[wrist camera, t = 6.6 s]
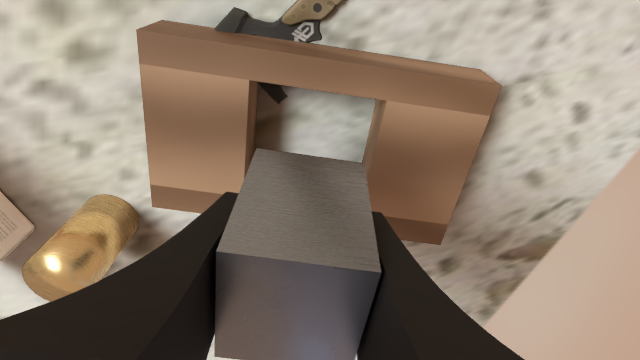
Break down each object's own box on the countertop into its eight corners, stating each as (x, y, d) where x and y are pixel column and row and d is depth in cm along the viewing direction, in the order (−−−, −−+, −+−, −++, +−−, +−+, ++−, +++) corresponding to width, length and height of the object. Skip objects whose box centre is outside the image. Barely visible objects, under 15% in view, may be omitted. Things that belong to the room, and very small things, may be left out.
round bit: (140, 240, 23) (95, 308, 18) (88, 234, 23) (30, 300, 18) (135, 198, 21) (85, 260, 17) (80, 191, 21) (14, 252, 17)
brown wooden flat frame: (429, 215, 21) (440, 244, 19) (171, 180, 20) (152, 206, 18) (480, 69, 17) (501, 85, 15) (162, 20, 16) (136, 29, 14)
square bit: (344, 246, 14) (350, 372, 10) (250, 233, 14) (214, 356, 10) (364, 163, 13) (381, 272, 8) (256, 148, 12) (216, 251, 8)
